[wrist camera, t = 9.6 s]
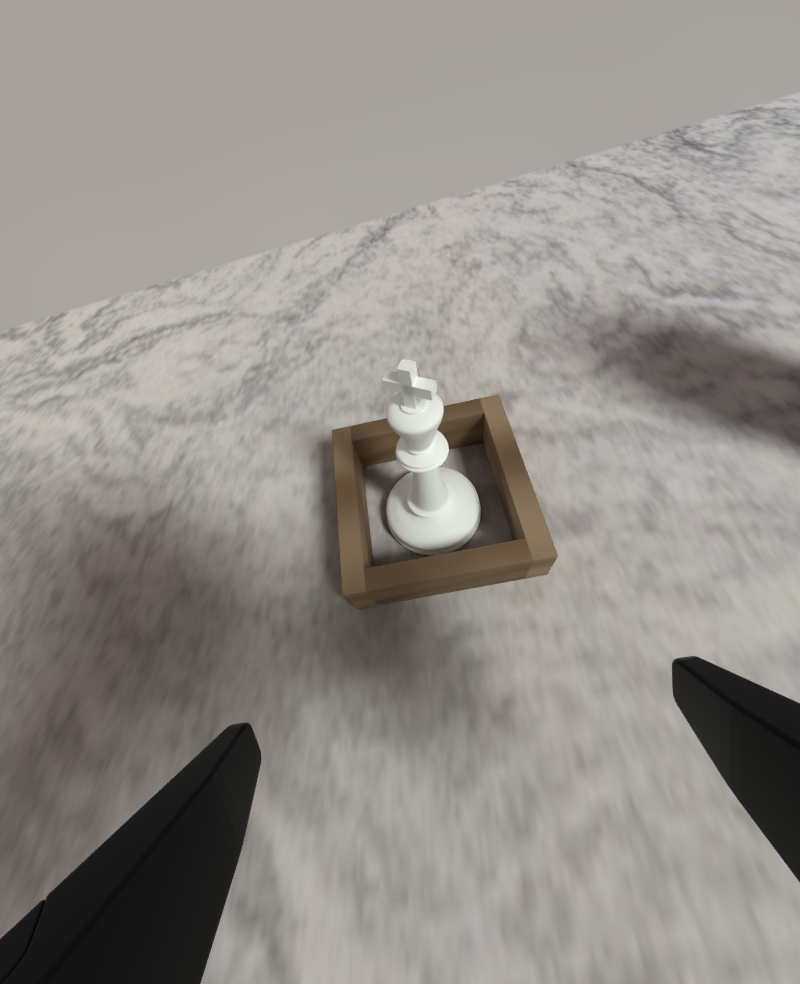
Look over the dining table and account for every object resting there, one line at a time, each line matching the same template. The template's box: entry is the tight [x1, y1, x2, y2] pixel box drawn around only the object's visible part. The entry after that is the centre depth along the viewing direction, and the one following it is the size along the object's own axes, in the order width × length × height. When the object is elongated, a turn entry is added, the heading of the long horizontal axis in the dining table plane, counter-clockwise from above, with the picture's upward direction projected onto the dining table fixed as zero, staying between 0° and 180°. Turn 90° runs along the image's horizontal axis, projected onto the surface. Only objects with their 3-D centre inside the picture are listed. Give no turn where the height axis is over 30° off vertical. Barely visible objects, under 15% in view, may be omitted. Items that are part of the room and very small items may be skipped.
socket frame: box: [332, 395, 558, 609], centre depth 19 cm, size 9×9×2 cm
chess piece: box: [382, 359, 481, 555], centre depth 16 cm, size 5×5×10 cm
